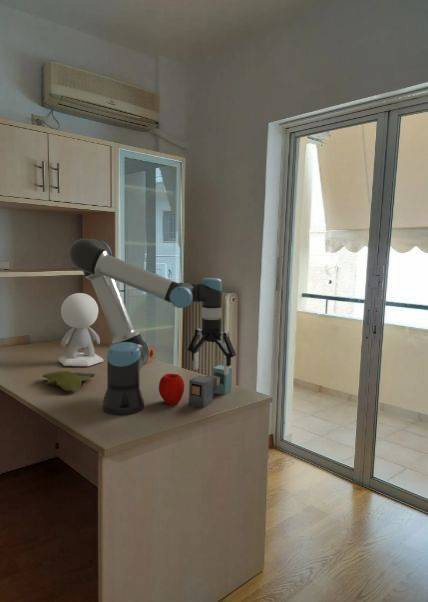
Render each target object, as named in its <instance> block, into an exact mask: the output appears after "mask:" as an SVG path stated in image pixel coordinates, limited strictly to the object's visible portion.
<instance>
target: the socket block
mask: <svg viewBox="0 0 428 602" xmlns="http://www.w3.org/2000/svg"><path fill="white" fill-rule="evenodd" d="M212 376H218V377H220V385H218V386H217V389H216V390H215V391H213V394H219V395H224V396H226V395H227V394H229V393H231V392H232V380H233V379H232V377H233V367H232V366H229V373H228V374H227V375H224V365H221V364H218V365H216V366H214V367H212Z"/></svg>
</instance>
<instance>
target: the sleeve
mask: <svg viewBox="0 0 428 602" xmlns="http://www.w3.org/2000/svg"><path fill="white" fill-rule="evenodd" d="M188 381H189V382H188V383H189V384H188V385H189V386H188V387H189V390H188V405H189V406H193V407H197V408H202V409H204V408H206V407H207V406H209V405H211V404H213V402H214V401H213V400H214V399H213V397H214V396H213V395H214V393H213V378H209V377H205V375H197V376H195V377H193V378H190V379H189V380H188ZM195 384H197V385H201V386H202V394H201V395H195V394H192V386H193V385H195Z"/></svg>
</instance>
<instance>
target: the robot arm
mask: <svg viewBox="0 0 428 602" xmlns="http://www.w3.org/2000/svg"><path fill="white" fill-rule="evenodd" d="M68 259H69V261H70V263H71V264H72V266H73V267H74V268H76V269H78V270H80V271H82V272H83V275H84V277H85V279H87V280H89V281H90V282H91V285H92V287H93V289H94V291H95V293H96V297H97V299H98V302H99V304H100V307H101V309H102V313H103V314H104V317H105V320H106V322H107V324H108V327H109V329H110V332H111V335H112V337H113V338H112V341H111V345H110V346H109V347H108V349H107V354H106V359H107V360H106V361H107V362H106V363H107V370H106V371H107V373H106V374H107V377H106V378H107V381H106V382H107V385H106V387H107V389H106V391H105V394H104V397H103V400H102V408H101V409H102V411H103V412H104V413H107V414H108V415H109V414H110V415H114V416H116V415H117V416H128V415H134V414H137V413H140V412H141V411H143V410H144V409H145V398H143V394H142V390H141V386H140V383H141V381H140V380H141V379H140V378H141V377H140V375H141V369H142V368H143V367H144V366H145V365H147V364H146V362H147V360H148V358H149V347H148V346H149V345H148V343H147V342H146V341H145V339H143V338H142V335H141V333H140V331H138V330H136V329H135V328H134V326H133V323H132V320H131V318H130V315H129V312H128V310H127V307H126V304H125V302H124V299H123V297H122V294H121V292H120V290H119V288H118V283H117V282H119V283H121V284H123V285H127V286H129V287H131V288H133V289H136V290H139V291H141V292H144V293H146V294H148V295H151V296H153V297H156V298H158V299H161V300H163V301H166V302H168V303H170V304H171V305H173V307H175V308H177V309H183V308H186V307H188V306H189V305H190V304H192V303H193V304H194V303H196V304H197V303H201V304H202V305H201V317H202V318H201V327H202V328H200V327H199V328H196V329H194V334H193V337H192V339H191V342H190V343H189V345H188V348H187V351H188V352H190V353H191V360H192V362H193V371H196V370H198V369H199V367H200V366H199V365H200V363H199V362H200V358H199V357H200V352H199V350H200V348H201V347H202V346H203V345H204V344H205V343H206V342H211V343H215V344H216V345H217V346H218V348H219V349H220V350H221V352H222V353H223V355H224V356H225V357H224V358H223V366H224V375H227V374H228V373H229V367H231V366H232V358H233V357H236V356H237V353H236V350H235V349H234V346H233V344H232V342H231V339H230V336H229V335H230V334H229V333H230V332H229V331H222V307H223V306H222V304H223V302H222V301H223V285H222V284H223V282H222V280H221V278H217V277H204V278H203V279H202V282H200V283H194V282H192V283H191V282H176V281H173V280H171V279H169V278H166V277H165V276H161V275H159V274H156V273H154V272H151V271H149V270H146V269H143V268H141V267H139V266H137V265H135V264H132V263H130V262H127V261H125V260H122V259H120V258H118V257H114V256H113V254H112V250H111V247H110V246H109V245H108V244H107V243H106V242H104V241H103V240H101V239H99V238H80V239H77V240H75V241H74V242H73V243H72V244H71V245H70V247H69V249H68ZM201 335H202V337H201V338H200V336H201ZM221 337H222V338H223V339H222V338H221ZM199 338H200V340H199ZM198 340H199V341H198ZM197 342H198V343H197Z"/></svg>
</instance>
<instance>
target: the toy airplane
mask: <svg viewBox="0 0 428 602" xmlns="http://www.w3.org/2000/svg"><path fill="white" fill-rule="evenodd" d="M41 377H43V378H45V379H48V381H47V382H46V384H47V385H55V386H58V387H60V388H61V389H63V390H64V391H66V392H67V391H69V392H72V391H74V390H77V389H80V388H81V386H82V382H83V381H85V380H89V379H91V378H94V377H95V373H84V372H83V373H82V372H71V371H70V370H69V371H67V370H66V371H65V370H61V371H60V370H59V371H54V372H50V373H44V374H43V375H41Z"/></svg>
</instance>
